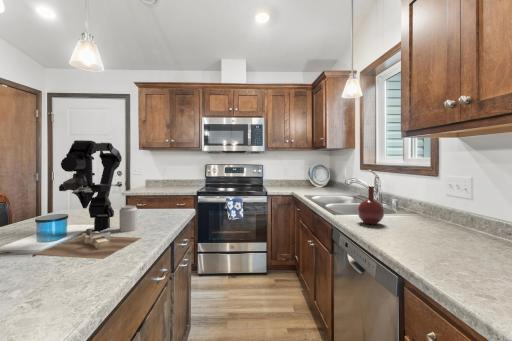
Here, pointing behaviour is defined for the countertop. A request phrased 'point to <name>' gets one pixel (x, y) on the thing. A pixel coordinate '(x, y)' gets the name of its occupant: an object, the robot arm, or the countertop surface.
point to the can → (128, 218)
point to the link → (96, 241)
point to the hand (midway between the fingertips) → (84, 208)
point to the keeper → (103, 234)
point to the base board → (87, 248)
